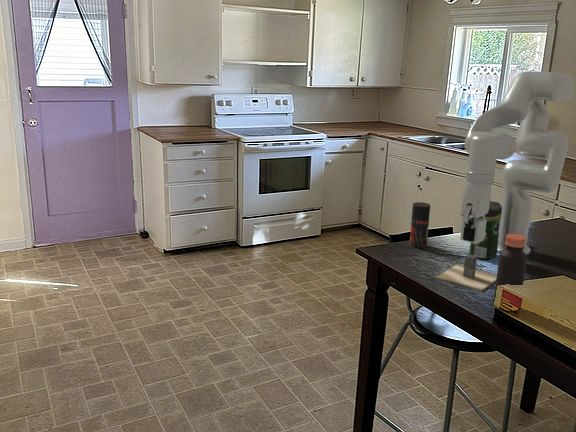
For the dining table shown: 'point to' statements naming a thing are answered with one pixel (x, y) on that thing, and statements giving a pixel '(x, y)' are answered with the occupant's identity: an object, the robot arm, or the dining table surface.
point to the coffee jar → (489, 234)
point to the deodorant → (419, 225)
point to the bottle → (511, 262)
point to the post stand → (468, 275)
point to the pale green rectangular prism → (476, 230)
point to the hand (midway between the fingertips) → (472, 237)
